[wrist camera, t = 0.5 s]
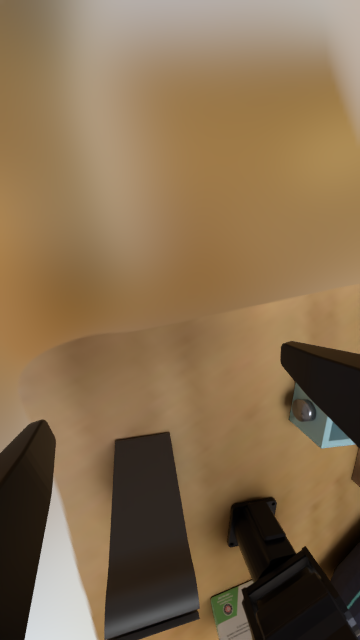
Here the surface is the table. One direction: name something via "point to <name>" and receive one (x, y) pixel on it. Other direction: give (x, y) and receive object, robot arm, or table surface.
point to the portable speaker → (349, 582)
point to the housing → (315, 422)
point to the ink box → (231, 614)
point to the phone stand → (147, 544)
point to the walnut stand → (357, 470)
